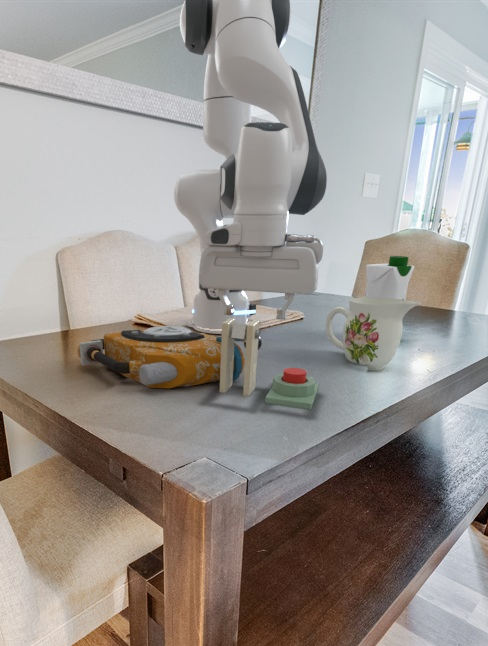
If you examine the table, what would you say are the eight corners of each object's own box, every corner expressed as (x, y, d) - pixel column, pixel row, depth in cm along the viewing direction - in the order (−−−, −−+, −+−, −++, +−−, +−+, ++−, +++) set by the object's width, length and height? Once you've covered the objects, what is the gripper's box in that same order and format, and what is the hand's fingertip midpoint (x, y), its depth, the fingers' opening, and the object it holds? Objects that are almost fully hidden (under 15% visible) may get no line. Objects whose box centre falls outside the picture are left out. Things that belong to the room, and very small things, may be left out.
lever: (244, 352, 85) (247, 335, 85) (261, 354, 84) (264, 336, 84) (227, 340, 73) (230, 320, 73) (247, 342, 72) (250, 321, 72)
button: (284, 376, 76) (285, 366, 76) (307, 379, 75) (308, 369, 74) (280, 383, 73) (281, 372, 72) (303, 386, 72) (305, 375, 71)
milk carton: (380, 345, 110) (394, 258, 103) (351, 336, 118) (363, 255, 110) (404, 340, 114) (420, 256, 107) (375, 333, 122) (388, 254, 114)
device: (133, 358, 68) (67, 326, 92) (135, 410, 71) (71, 366, 95) (251, 340, 79) (165, 316, 103) (249, 385, 82) (166, 352, 106)
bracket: (223, 384, 83) (225, 314, 79) (266, 390, 81) (272, 317, 76) (205, 403, 75) (207, 325, 70) (253, 411, 72) (258, 330, 67)
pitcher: (334, 351, 105) (342, 289, 100) (416, 368, 93) (430, 299, 88) (309, 361, 97) (316, 295, 92) (395, 380, 86) (409, 306, 81)
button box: (276, 389, 81) (278, 368, 79) (317, 395, 79) (320, 373, 77) (264, 410, 72) (266, 386, 71) (309, 417, 70) (312, 392, 68)
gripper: (326, 234, 75) (317, 318, 81) (208, 231, 82) (206, 309, 87) (322, 236, 70) (312, 325, 75) (196, 233, 77) (195, 315, 82)
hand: (254, 316), depth 81 cm, fingers open, 8 cm apart
